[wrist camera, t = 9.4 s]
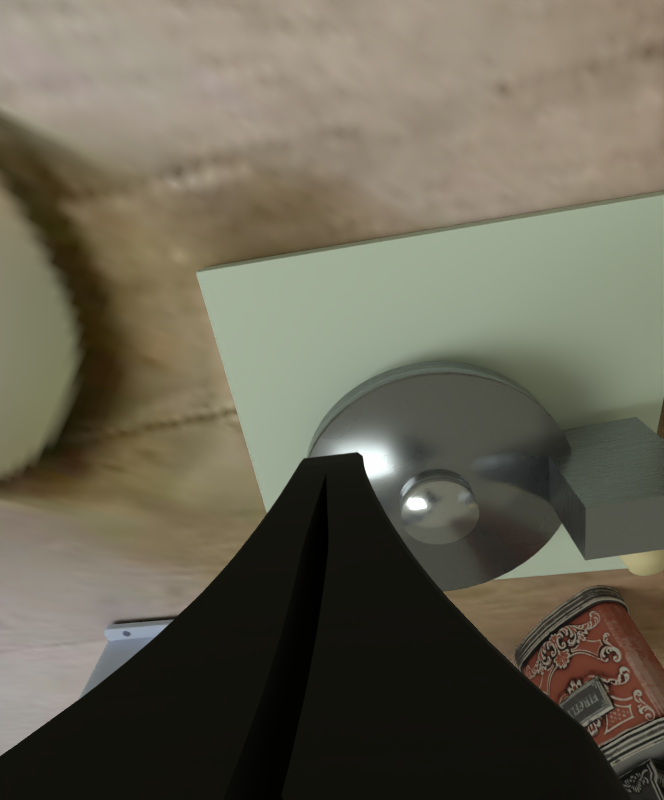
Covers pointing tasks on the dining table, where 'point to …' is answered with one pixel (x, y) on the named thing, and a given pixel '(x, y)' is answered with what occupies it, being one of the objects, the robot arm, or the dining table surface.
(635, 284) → the board
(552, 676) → the lighter
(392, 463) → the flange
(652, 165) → the dining table surface
